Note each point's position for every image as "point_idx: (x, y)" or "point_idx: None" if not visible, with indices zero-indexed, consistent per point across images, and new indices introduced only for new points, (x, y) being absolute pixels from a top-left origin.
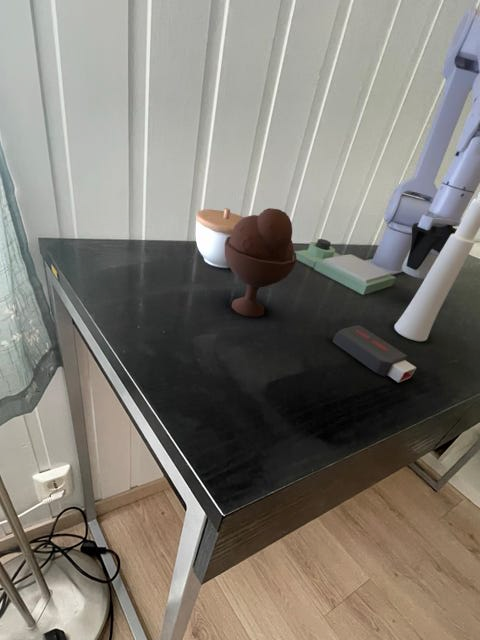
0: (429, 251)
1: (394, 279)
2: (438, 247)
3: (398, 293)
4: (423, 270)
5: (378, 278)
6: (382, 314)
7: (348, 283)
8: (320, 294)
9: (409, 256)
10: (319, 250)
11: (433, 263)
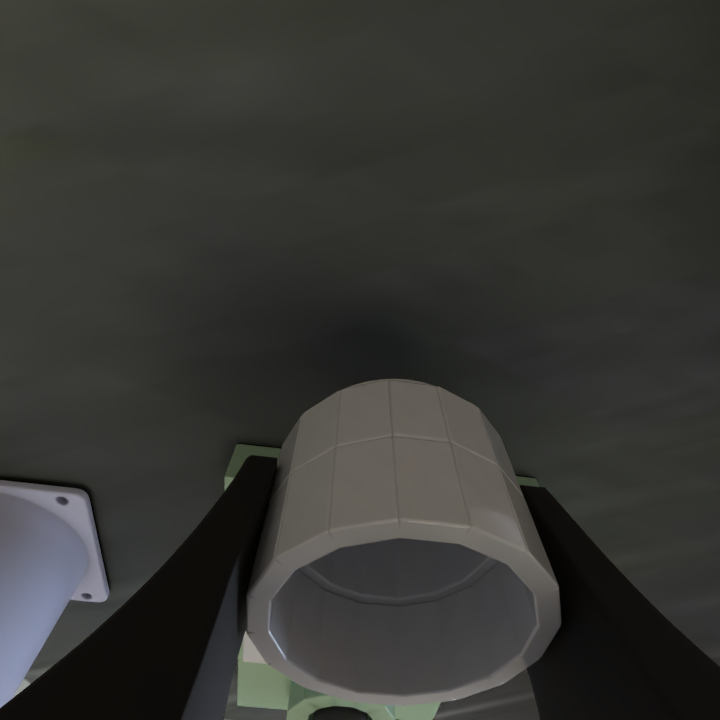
0: (634, 628)
1: (236, 469)
2: (225, 613)
3: (296, 392)
4: (504, 454)
5: None
6: (700, 353)
7: None
8: (699, 558)
9: None
10: (391, 713)
11: (475, 472)
